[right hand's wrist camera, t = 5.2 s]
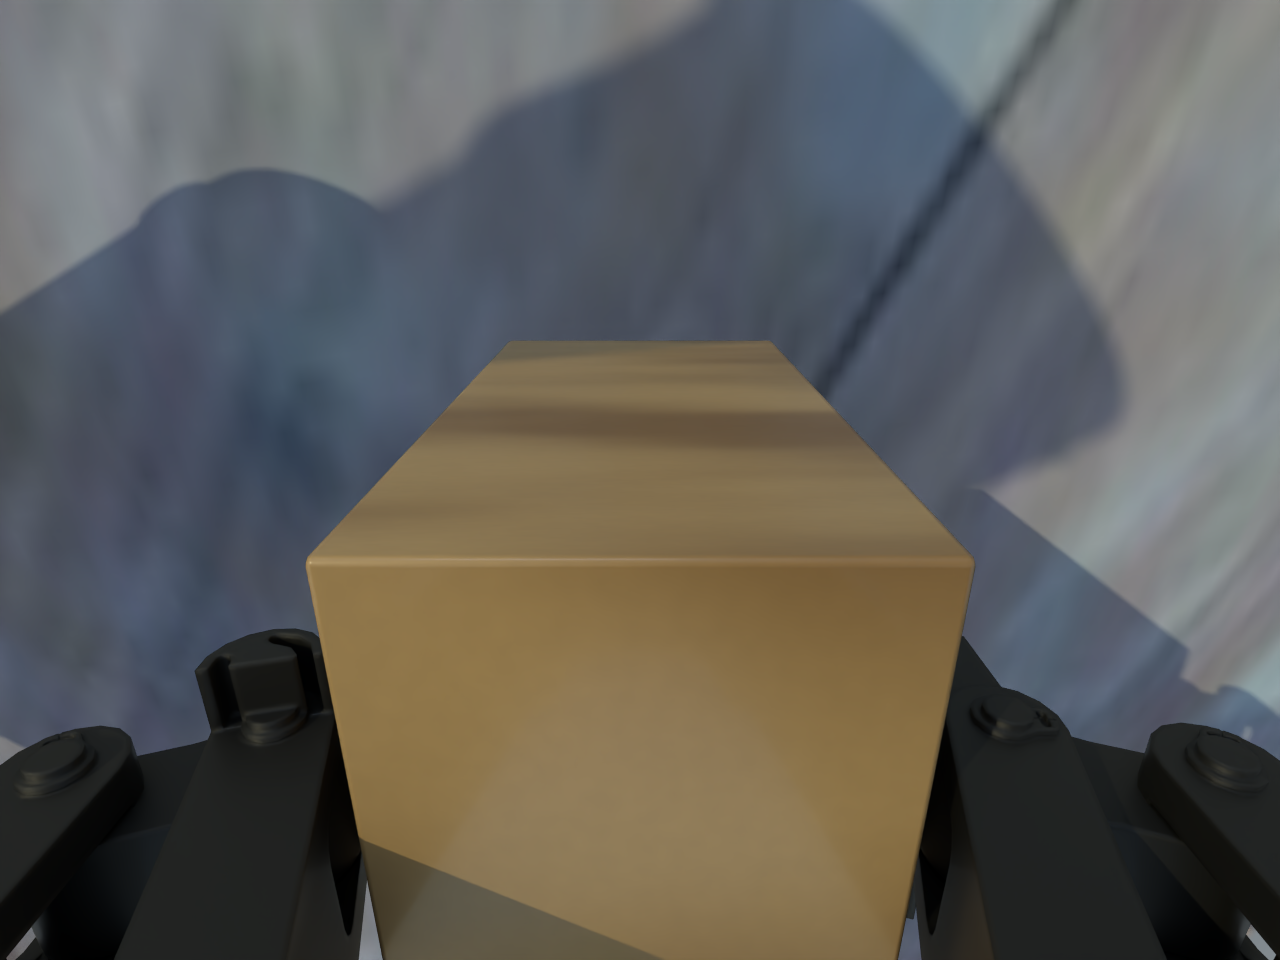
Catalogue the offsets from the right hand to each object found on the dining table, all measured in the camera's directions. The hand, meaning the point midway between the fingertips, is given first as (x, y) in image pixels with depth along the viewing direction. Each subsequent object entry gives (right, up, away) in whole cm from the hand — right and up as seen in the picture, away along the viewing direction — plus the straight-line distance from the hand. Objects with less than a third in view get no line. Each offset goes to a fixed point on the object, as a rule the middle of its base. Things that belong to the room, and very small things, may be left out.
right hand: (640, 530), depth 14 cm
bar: (0, -6, +3) cm, 7 cm away
